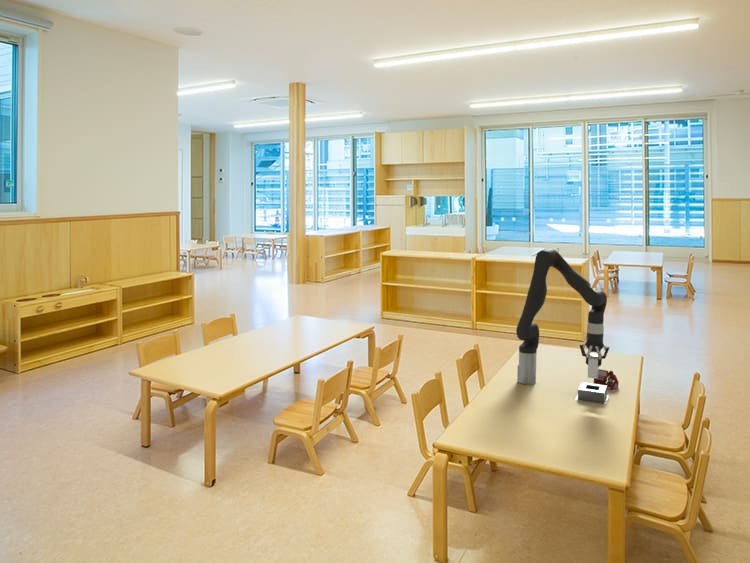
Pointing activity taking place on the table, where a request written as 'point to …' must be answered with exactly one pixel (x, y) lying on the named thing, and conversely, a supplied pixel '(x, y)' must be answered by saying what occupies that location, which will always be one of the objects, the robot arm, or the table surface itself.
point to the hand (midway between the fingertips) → (593, 365)
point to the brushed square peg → (593, 366)
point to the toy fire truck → (603, 379)
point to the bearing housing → (592, 393)
